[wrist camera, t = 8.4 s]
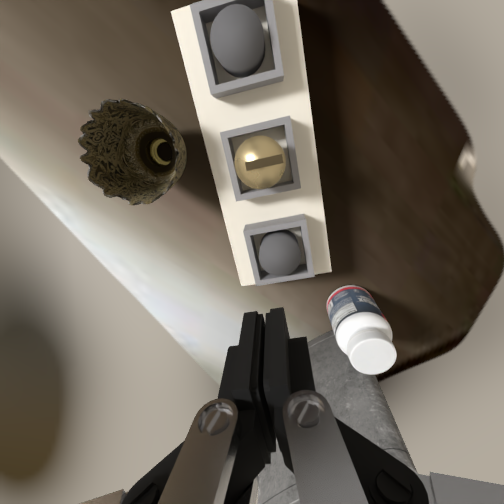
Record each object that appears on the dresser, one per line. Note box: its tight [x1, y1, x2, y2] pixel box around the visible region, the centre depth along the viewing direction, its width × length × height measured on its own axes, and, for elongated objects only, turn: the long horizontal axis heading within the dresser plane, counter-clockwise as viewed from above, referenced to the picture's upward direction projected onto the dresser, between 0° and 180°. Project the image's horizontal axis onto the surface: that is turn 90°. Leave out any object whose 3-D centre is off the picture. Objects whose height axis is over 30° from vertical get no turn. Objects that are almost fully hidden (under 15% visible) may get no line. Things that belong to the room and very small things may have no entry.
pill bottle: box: [327, 285, 397, 375], centre depth 29 cm, size 5×5×9 cm
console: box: [171, 0, 332, 286], centre depth 25 cm, size 23×9×6 cm, turn 12°
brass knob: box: [234, 135, 286, 189], centre depth 21 cm, size 4×4×3 cm
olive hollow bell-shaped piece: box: [78, 99, 187, 205], centre depth 24 cm, size 8×7×8 cm
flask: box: [258, 330, 418, 504], centre depth 28 cm, size 4×14×18 cm, turn 132°
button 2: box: [210, 4, 265, 78], centre depth 20 cm, size 4×4×3 cm
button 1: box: [259, 229, 301, 276], centre depth 25 cm, size 4×4×3 cm
